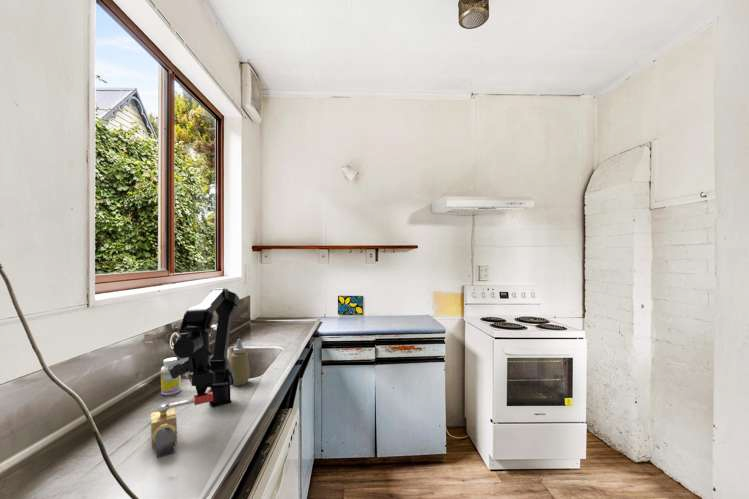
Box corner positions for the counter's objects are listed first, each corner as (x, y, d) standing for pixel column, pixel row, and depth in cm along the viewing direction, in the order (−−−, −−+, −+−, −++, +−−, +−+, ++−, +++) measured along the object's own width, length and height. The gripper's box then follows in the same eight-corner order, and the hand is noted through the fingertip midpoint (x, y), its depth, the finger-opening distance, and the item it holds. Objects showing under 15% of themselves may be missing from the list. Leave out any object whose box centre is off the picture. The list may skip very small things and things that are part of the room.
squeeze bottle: (230, 388, 136) (229, 342, 136) (228, 382, 143) (227, 338, 144) (251, 384, 140) (250, 340, 140) (249, 378, 147) (248, 336, 147)
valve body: (173, 421, 110) (172, 395, 110) (179, 453, 92) (178, 422, 92) (150, 426, 107) (150, 400, 107) (152, 461, 89) (151, 429, 89)
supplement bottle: (166, 389, 137) (166, 357, 137) (184, 388, 138) (183, 356, 138) (157, 396, 131) (156, 362, 131) (175, 395, 131) (175, 361, 131)
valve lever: (211, 398, 108) (211, 391, 108) (213, 401, 106) (213, 394, 106) (157, 410, 100) (156, 403, 100) (157, 414, 98) (157, 406, 98)
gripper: (167, 346, 111) (168, 395, 111) (171, 360, 95) (172, 417, 95) (206, 340, 117) (207, 387, 117) (215, 353, 102) (216, 406, 101)
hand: (200, 398), depth 107 cm, fingers closed
